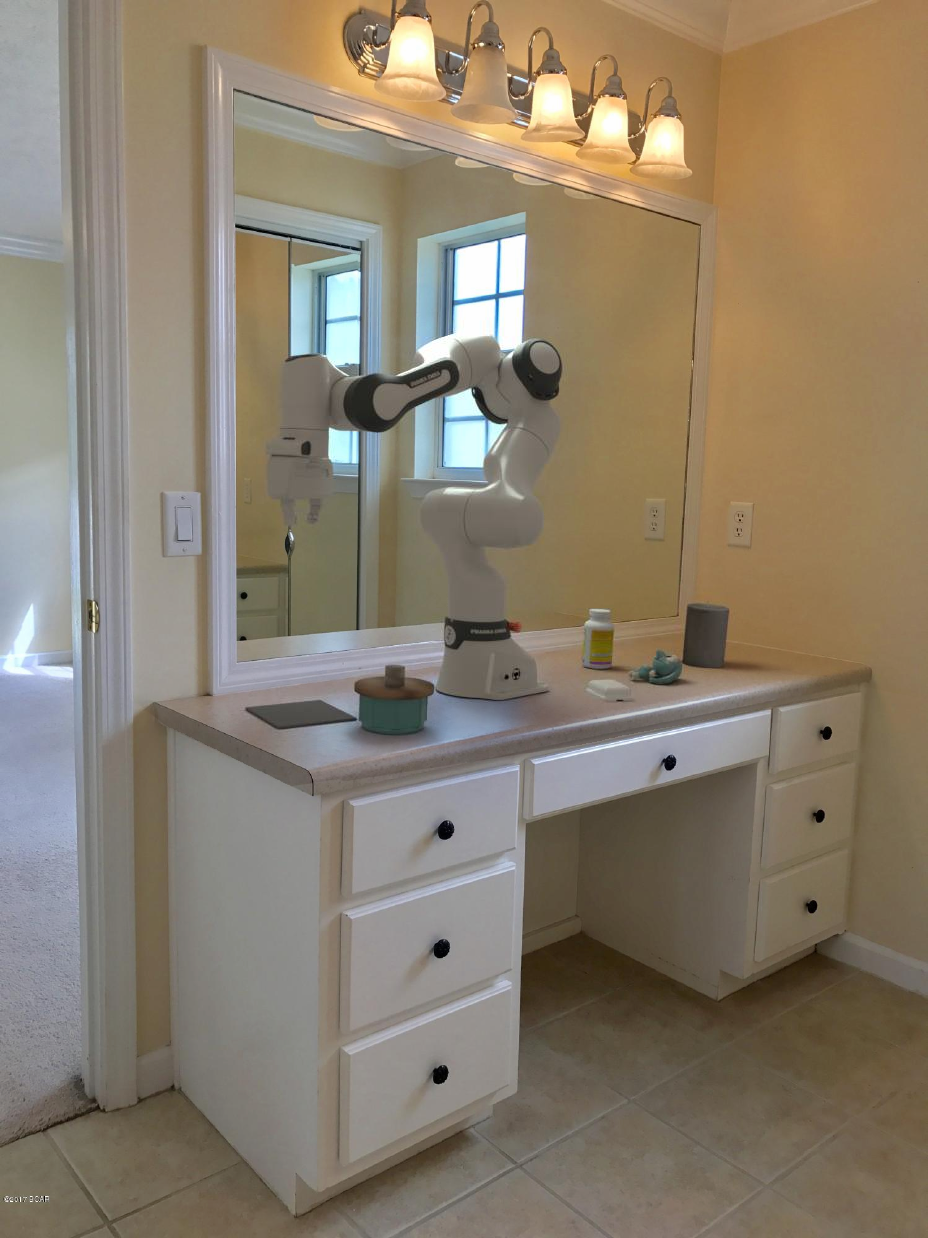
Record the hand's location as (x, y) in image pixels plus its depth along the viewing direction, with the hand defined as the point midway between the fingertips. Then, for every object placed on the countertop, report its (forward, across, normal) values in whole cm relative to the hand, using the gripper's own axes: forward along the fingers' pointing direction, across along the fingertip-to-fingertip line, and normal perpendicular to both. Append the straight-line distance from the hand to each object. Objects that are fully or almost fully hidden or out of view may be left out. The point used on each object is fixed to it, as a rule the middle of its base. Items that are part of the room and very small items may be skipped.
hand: (301, 524), depth 175 cm
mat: (+31, +14, +7) cm, 35 cm away
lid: (+25, +14, +24) cm, 37 cm away
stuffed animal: (+32, -46, +61) cm, 83 cm away
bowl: (+31, +14, +24) cm, 41 cm away
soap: (+32, -26, +54) cm, 68 cm away
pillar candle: (+31, -71, +70) cm, 104 cm away
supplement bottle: (+31, -55, +47) cm, 79 cm away
